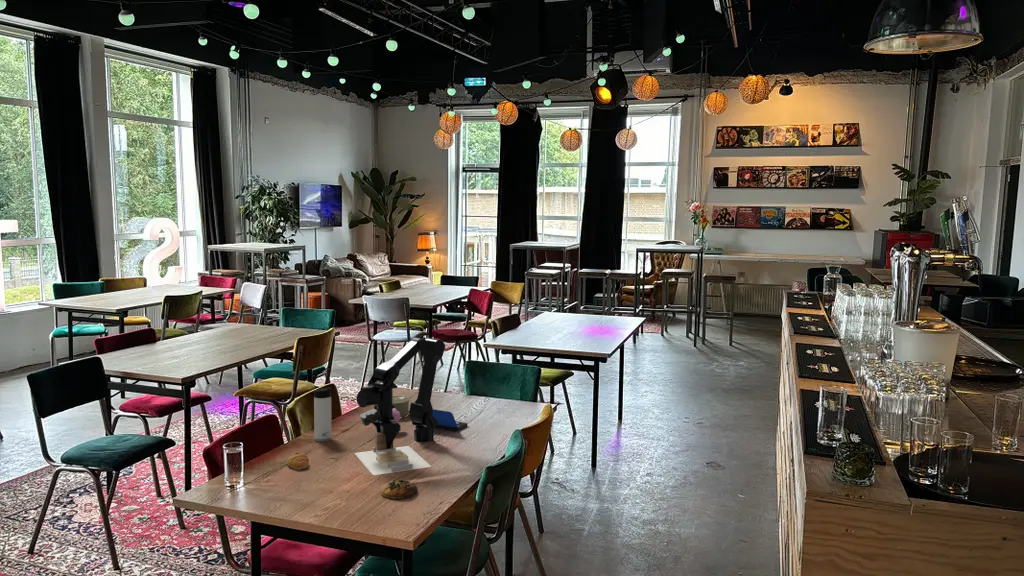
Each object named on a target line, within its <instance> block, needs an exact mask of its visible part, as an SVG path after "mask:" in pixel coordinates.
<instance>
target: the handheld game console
mask: <svg viewBox="0 0 1024 576" xmlns="http://www.w3.org/2000/svg"><path fill="white" fill-rule="evenodd" d="M433 416H434V418H435V419H436V420H437V421H438V424H437V427H435V428H434V429H440V428H443V429H442V430H445V431H450V430H451V431H452V432H455V431H457V432H458V431H461V430H463V429H465V428H467V427H468V423H467V422H462V421H456V419H455V416H454V414H453V412H451V411H448V410H440V409H433ZM451 431H450V432H451Z"/></svg>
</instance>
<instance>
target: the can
mask: <svg viewBox="0 0 1024 576" xmlns="http://www.w3.org/2000/svg"><path fill="white" fill-rule="evenodd" d="M409 402H410V398H409V397H406V396H399V395H396V396H395V395H393V405H394V408H395V409H396V410H397V411H398V412H399V413H400V417H404V416H407V415H408V412H409V410H410V405H409ZM408 416H409V415H408ZM408 416H407V417H408Z"/></svg>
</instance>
